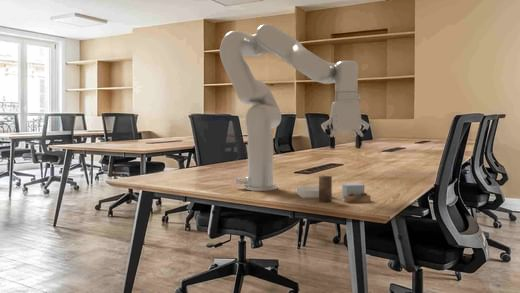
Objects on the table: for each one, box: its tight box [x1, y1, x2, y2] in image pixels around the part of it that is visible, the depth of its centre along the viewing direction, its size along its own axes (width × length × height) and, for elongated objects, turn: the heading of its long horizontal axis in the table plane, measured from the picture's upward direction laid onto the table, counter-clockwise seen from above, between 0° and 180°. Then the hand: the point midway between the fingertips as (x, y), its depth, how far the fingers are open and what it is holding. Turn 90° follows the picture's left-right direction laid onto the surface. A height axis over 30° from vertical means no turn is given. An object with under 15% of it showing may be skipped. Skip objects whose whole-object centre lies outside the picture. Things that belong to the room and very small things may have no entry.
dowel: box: [318, 175, 333, 203], centre depth 136 cm, size 4×4×8 cm
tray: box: [296, 185, 333, 200], centre depth 146 cm, size 10×10×2 cm
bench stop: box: [343, 192, 371, 203], centre depth 136 cm, size 8×2×3 cm, turn 98°
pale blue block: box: [341, 182, 365, 200], centre depth 140 cm, size 6×4×5 cm, turn 99°
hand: (345, 148), depth 147 cm, fingers open, 8 cm apart
